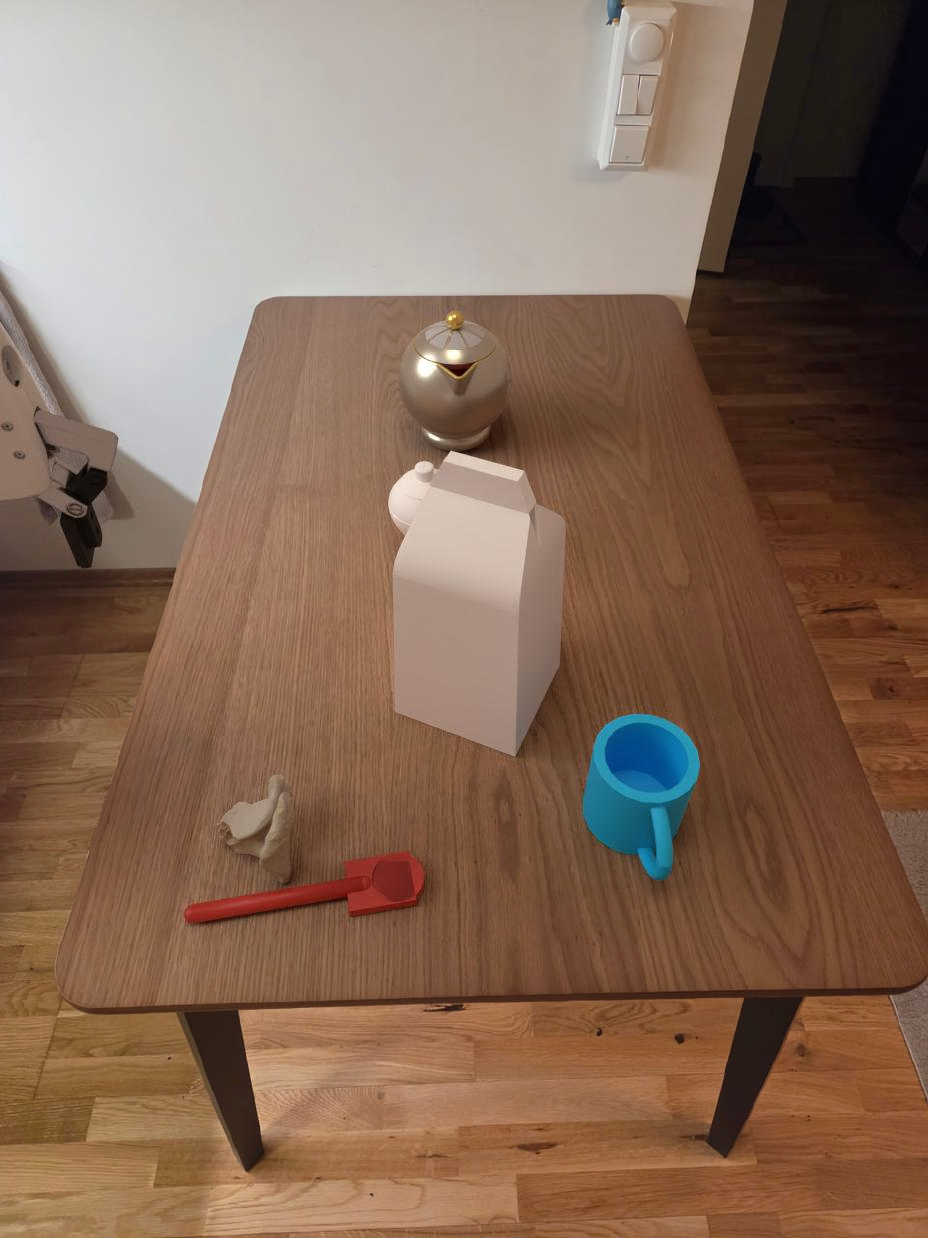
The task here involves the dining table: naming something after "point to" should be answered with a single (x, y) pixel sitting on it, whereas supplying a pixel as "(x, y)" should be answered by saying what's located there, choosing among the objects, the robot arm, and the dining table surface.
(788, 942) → the dining table surface
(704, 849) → the dining table surface
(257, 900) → the red toy shovel
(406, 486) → the spinning top
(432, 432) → the teapot
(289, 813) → the bone
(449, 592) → the milk
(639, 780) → the mug
